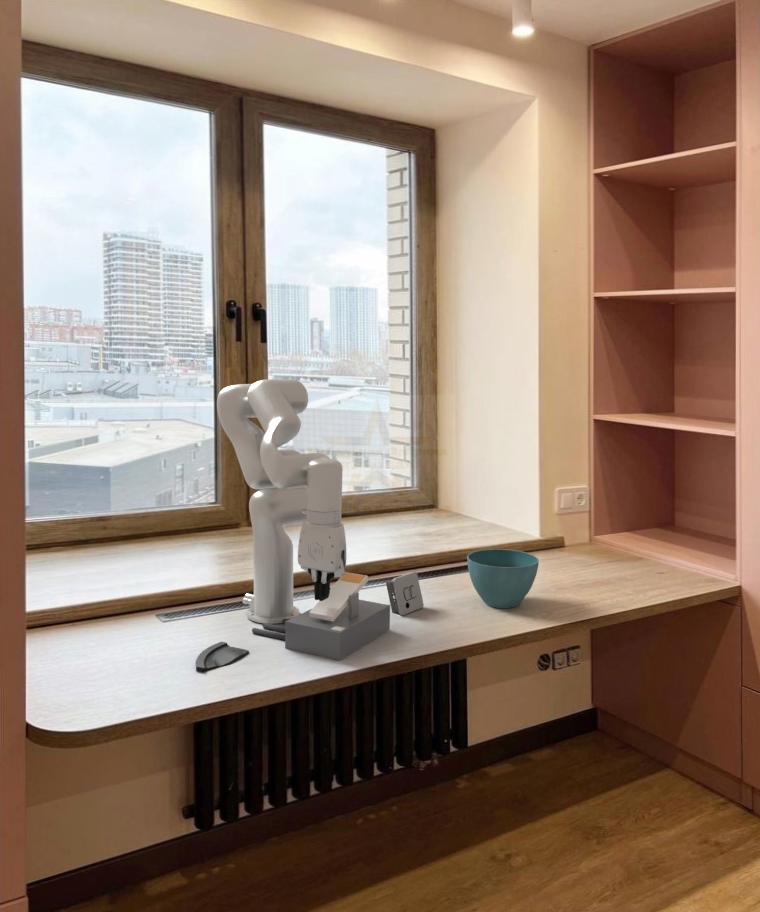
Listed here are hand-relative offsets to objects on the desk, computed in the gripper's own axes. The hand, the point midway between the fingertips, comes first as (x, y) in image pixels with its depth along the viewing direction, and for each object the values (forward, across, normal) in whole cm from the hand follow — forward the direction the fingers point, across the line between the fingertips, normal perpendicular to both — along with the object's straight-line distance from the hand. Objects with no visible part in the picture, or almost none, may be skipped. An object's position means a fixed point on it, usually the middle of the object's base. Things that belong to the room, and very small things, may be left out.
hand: (321, 598), depth 178 cm
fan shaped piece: (+12, -15, -17) cm, 25 cm away
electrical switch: (+12, +4, +32) cm, 34 cm away
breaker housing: (+11, +1, +6) cm, 12 cm away
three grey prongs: (+11, -12, +3) cm, 17 cm away
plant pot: (+11, +23, +50) cm, 56 cm away
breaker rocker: (+1, +1, +6) cm, 6 cm away
